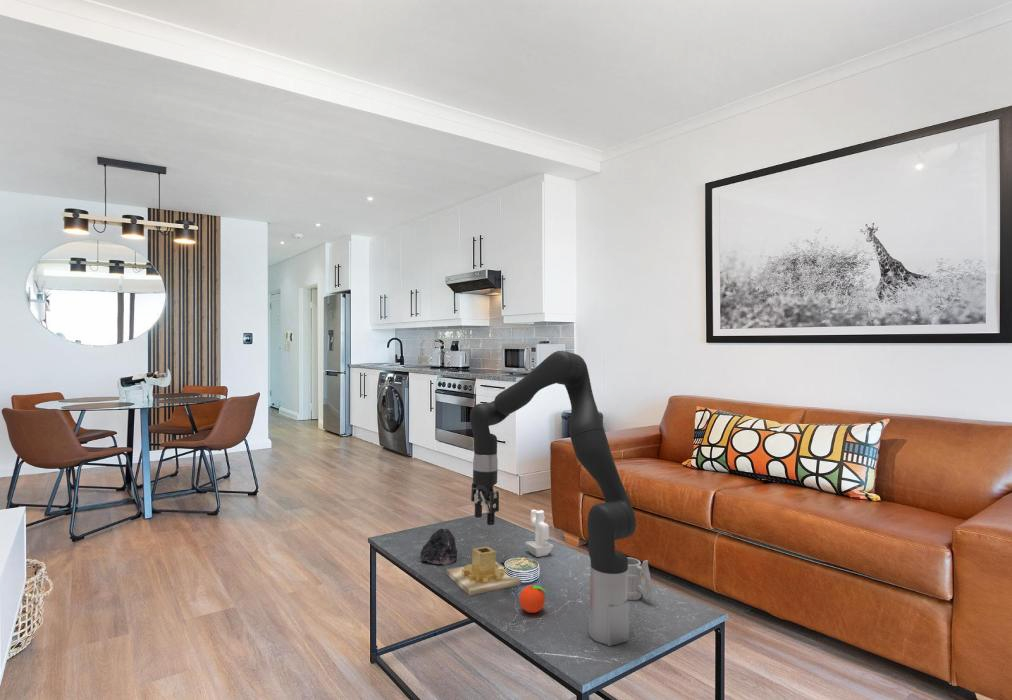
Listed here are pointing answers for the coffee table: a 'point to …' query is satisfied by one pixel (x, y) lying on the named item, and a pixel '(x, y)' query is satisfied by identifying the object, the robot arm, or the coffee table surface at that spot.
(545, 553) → the figurine
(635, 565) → the mug
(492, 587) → the carrier plate
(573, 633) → the coffee table surface
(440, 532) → the black rock
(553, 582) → the coffee table surface
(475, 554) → the gear
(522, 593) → the clementine
